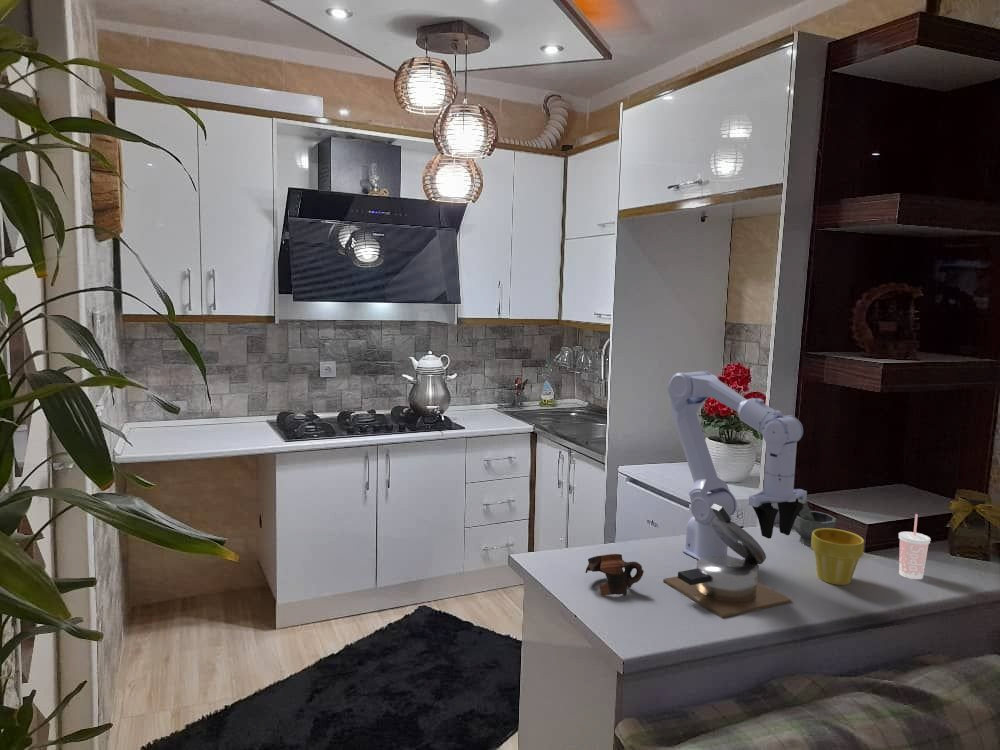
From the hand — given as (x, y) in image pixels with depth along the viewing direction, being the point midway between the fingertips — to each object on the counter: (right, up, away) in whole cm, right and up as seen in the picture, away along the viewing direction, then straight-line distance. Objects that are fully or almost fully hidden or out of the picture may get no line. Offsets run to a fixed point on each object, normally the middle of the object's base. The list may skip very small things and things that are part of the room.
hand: (775, 535), depth 150 cm
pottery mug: (-35, -11, -3) cm, 37 cm away
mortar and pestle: (+19, -8, +25) cm, 32 cm away
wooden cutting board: (-12, -11, -4) cm, 17 cm away
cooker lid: (-11, +1, -5) cm, 12 cm away
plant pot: (+14, -11, +4) cm, 18 cm away
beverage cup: (+33, -11, +6) cm, 35 cm away
